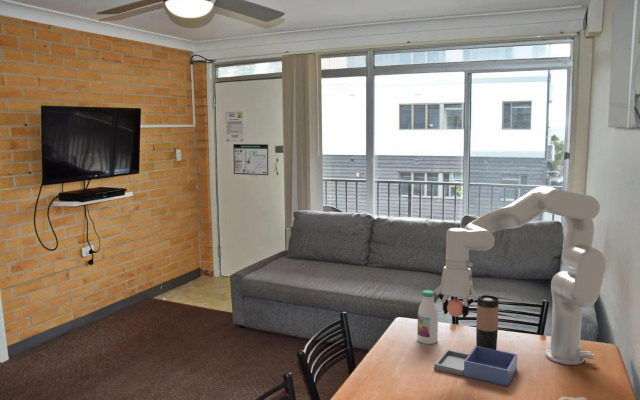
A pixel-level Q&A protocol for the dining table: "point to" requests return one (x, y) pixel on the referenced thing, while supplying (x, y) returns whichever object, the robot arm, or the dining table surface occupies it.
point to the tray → (451, 362)
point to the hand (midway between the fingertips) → (455, 314)
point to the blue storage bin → (490, 366)
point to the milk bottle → (427, 319)
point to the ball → (455, 307)
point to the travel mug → (487, 322)
